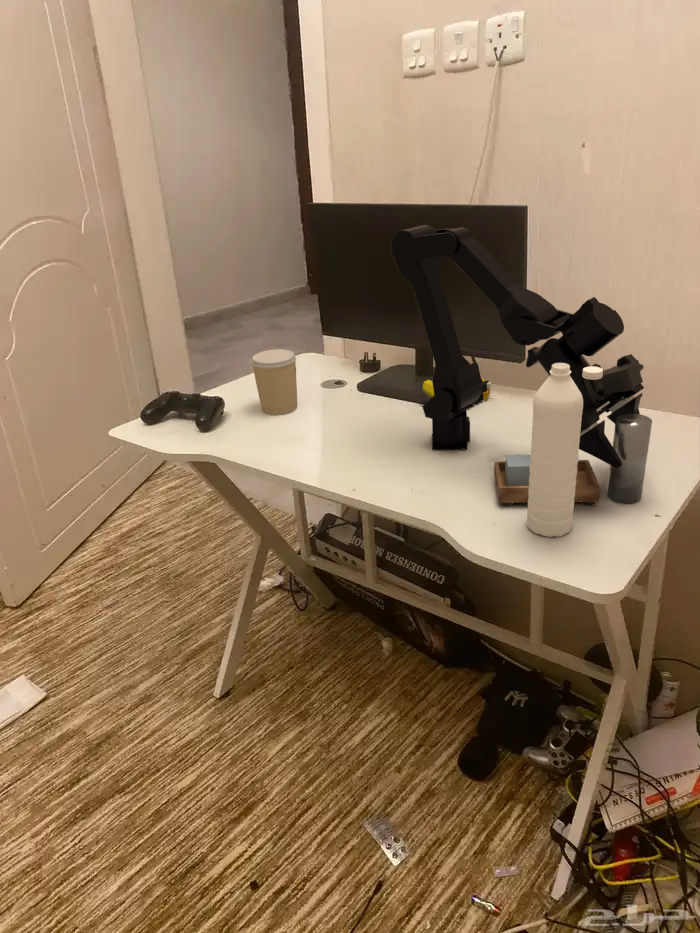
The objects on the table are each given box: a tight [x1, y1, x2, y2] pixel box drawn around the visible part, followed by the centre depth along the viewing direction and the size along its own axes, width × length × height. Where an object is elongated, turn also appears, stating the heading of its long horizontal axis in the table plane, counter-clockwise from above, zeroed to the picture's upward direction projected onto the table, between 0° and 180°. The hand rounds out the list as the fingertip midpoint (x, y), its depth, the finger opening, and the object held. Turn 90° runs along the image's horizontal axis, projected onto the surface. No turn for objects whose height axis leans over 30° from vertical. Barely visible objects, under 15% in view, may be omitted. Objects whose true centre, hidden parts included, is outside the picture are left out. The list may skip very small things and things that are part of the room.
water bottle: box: [526, 363, 604, 538], centre depth 96 cm, size 9×6×25 cm
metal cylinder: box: [606, 413, 653, 505], centre depth 106 cm, size 5×5×13 cm
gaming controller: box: [422, 377, 492, 406], centre depth 147 cm, size 15×6×10 cm
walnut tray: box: [493, 459, 601, 507], centre depth 110 cm, size 15×9×3 cm, turn 84°
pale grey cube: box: [505, 454, 531, 486], centre depth 110 cm, size 4×4×4 cm
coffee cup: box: [251, 348, 298, 417], centre depth 148 cm, size 9×9×12 cm
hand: (633, 455), depth 105 cm, fingers open, 9 cm apart
